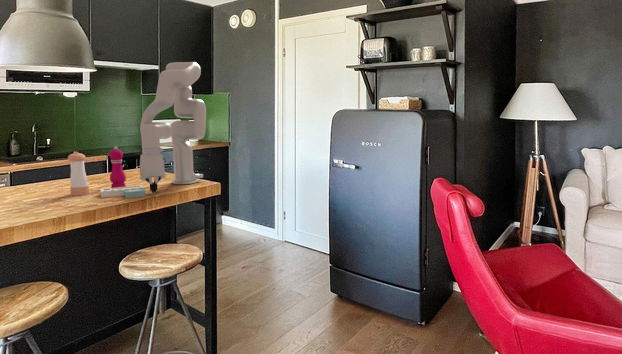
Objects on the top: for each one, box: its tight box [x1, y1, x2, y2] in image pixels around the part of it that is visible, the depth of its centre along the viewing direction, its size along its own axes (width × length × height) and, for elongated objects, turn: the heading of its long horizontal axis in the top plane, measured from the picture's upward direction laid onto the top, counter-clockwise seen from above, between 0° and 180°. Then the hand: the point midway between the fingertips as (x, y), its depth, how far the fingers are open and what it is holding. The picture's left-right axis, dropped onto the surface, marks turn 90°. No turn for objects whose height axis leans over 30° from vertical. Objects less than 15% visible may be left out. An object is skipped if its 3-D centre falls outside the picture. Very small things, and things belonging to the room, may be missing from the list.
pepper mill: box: [108, 146, 127, 188], centre depth 212 cm, size 7×7×20 cm
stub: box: [123, 188, 146, 199], centre depth 195 cm, size 8×6×3 cm
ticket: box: [99, 185, 146, 198], centre depth 199 cm, size 18×7×3 cm, turn 119°
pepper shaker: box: [67, 151, 90, 196], centre depth 197 cm, size 7×7×19 cm
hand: (153, 192), depth 199 cm, fingers closed
